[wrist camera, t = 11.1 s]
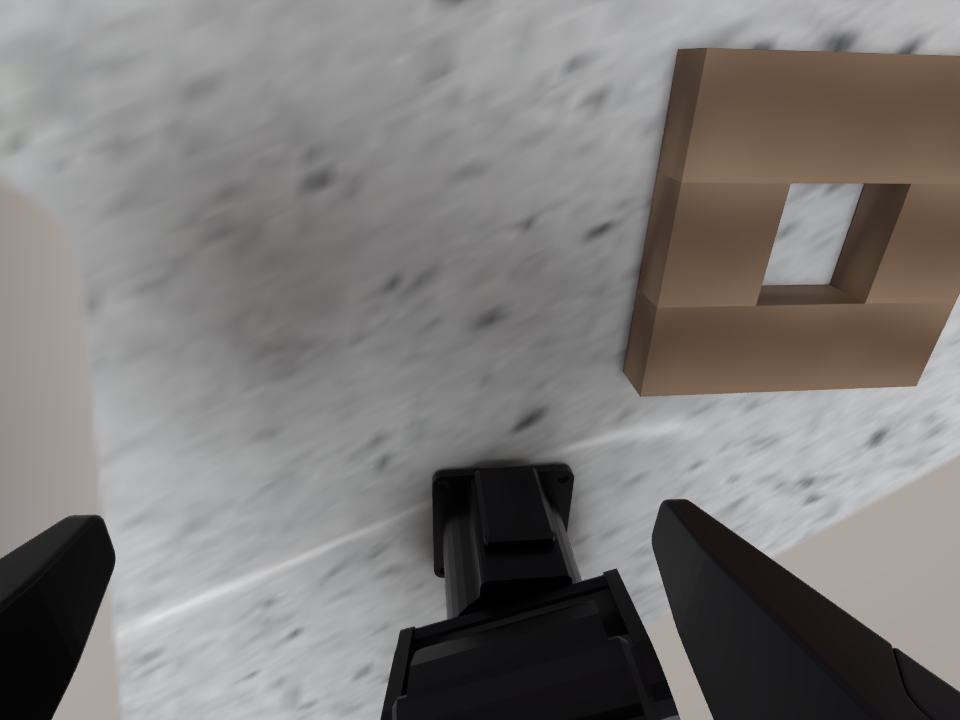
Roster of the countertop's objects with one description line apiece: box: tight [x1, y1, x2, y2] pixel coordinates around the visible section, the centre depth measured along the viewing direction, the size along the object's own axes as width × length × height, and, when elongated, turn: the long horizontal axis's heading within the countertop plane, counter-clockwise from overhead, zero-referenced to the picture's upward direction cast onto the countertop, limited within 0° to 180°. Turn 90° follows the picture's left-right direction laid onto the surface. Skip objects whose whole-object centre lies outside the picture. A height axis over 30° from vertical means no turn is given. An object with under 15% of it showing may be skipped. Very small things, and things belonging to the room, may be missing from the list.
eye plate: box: [623, 48, 960, 397], centre depth 20 cm, size 12×12×2 cm
